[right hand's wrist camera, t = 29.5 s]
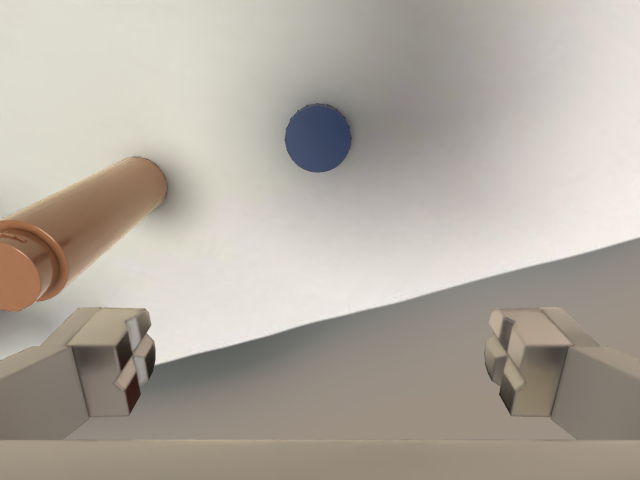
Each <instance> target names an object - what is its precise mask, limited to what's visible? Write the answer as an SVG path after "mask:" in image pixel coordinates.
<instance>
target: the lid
mask: <svg viewBox="0 0 640 480" xmlns="http://www.w3.org/2000/svg"><path fill="white" fill-rule="evenodd" d="M349 129H350V127H349V125H347V123H346V120H345V117H344V116H342V115H341V114H340V113H339V112H338V110H337V109H334V108H332V107H330V106H328V104H327V105H324V104H318V103H317V104H313V105H309V106H308V105H306V107H304V108H302V109H301V110H298V111H297V113H296V114H295V115H294V116H293V118H292V117H291V119H290V123H289V125H288V127H287V128H286V136H285V142H286V148H287V151H288V153H289V155H290V157H291V158H292V160H293V161H294V162H295V163H296V164H297V165H298V166H300V167H301V168H303V169H305V170H308V171H311V172H325V171H329V170H331V169H333V168H335V167H337V166H338V165H339V164H340V163H341V162H342V161H343V160H344V159H345V157H346V156H347V154H348V151H349V149H350V143H351V135H350V130H349Z"/></svg>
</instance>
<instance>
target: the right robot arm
mask: <svg viewBox="0 0 640 480" xmlns="http://www.w3.org/2000/svg"><path fill="white" fill-rule="evenodd" d="M150 326H151V321H150V316H149V312H148V311H147V310H146V309H145V308H101V307H93V308H78V309H77V310H76V311H75V312H74V313H73V314H72V315H71V316H70V317H69V318H68V319H67V320H66V321H65V322H64V323H63V324H62V325H61V326H60V327H59V328H58V329H57V330H56V331H55V332H54V333H53V334H52V335H50V336H49V337H48V338H47V339H46V340H45V341H44V342H43V343H42V344H41V345H40V346H32V347H30V348H28V349H25V350H23V351H21V352H18V353H16V354H14V355H12V356H9V357H7V358H5V359H2V360H0V480H640V360H638V359H635V358H633V357H631V356H628V355H626V354H624V353H622V352H619V351H617V350H615V349H612V348H610V347H608V346H600V345H599V344H598V343H597V342H596V341H595V340H594V339H593V338H592V337H591V336H590V335H589V334H588V333H587V332H586V331H585V330H583V328H581V326H580V325H578V324H577V323H576V322H575V321H574V320H573V319H572V318H571V317H570V316H569V315H568V314H567V313H566V312H565V311H564V310H563V309H561V308H558V307H550V308H514V309H493V311H492V313H491V315H490V320H489V326H490V328H491V329H492V331H493V332H494V333H493V334H492V335H491V336H490V337H489V338H488V339H487V340H486V345H485V352H484V355H485V365H486V369H487V372H488V374H489V376H490V378H491V380H492V381H493V382H494V383H496V384H498V385H499V386H501V388H500V393H499V395H500V397H501V399H502V400H503V402H504V404H505V406H506V408H507V409H508V411H509V413H510V415H511V416H523V417H551V420H553V421H554V422H555V423H556V424H558V425H559V426H560V427H562V428H563V429H564V430H565V431H567V432H568V433H569V434H571V435H572V436H573V437H575V438H576V439H577V440H63V439H64V438H66V437H67V436H68V435H70V434H71V433H72V432H73V431H75V430H76V429H77V428H78V427H80V426H81V425H82V424H84V423H85V422H86V421H88V420H89V417H116V416H129V415H130V413H131V411H132V409H133V408H134V406H135V404H136V402H137V400H138V399H139V397H140V395H141V393H140V388H139V386H141V385H142V384H144V383H146V382H147V381H148V380H149V378H150V376H151V374H152V372H153V368H154V364H155V344H154V340H153V339H152V338H151V337H150V336H149V335H148V334H147V331H148V329H149V328H150Z"/></svg>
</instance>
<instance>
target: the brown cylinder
mask: <svg viewBox="0 0 640 480" xmlns="http://www.w3.org/2000/svg"><path fill="white" fill-rule="evenodd" d="M166 193H167V183H166V179H165V176H164V175H163V173H162V171H161V170H160V169H159V168H158V167H157V166H156V165H155V164H154V163H152V162H151V161H149V160H147V159H144V158H140V157H130V158H127V159H124V160H122V161H120V162H118V163H116V164H114V165H112V166H110V167H108V168H106V169H104V170H102V171H99V172H97V173H95V174H93V175H91V176H89V177H87V178H85V179H83V180H81V181H79V182H77V183H75V184H73V185H71V186H69V187H67V188H65V189H63V190H60V191H58V192H56V193H54V194H52V195H50V196H48V197H46V198H44V199H42V200H40V201H38V202H36V203H34V204H32V205H30V206H28V207H26V208H24V209H22V210H19V211H17V212H15V213H13V214H11V215H9V216H7V217H5V218H3V219H1V220H0V310H7V311H9V312H13V311H20V310H21V309H24V308H27V307H28V306H30V305H32V304H33V303H34V302H37V301H44V300H47V299H50V298H52V297H54V296H56V295H57V294H59V293H60V292H61V291H62V290H63V289H64V288H65V287H67V286H68V285H69V284H70V283H71V282H72V281H73V280H75V279H76V278H77V277H78V276H79V275H80V274H81V273H83V272H84V271H85V270H86V269H87V268H88V267H89V266H91V265H92V264H93V263H94V262H95V261H96V260H97V259H98V258H100V257H101V256H102V255H103V254H104V253H105V252H106V251H108V250H109V249H110V248H111V247H112V246H113V245H114V244H116V243H117V242H118V241H119V240H120V239H121V238H122V237H124V236H125V235H126V234H127V233H128V232H129V231H130V230H131V229H133V228H134V227H135V226H136V225H137V224H138V223H139V222H141V221H142V220H143V219H144V218H145V217H146V216H147V215H149V214H150V213H151V212H152V211H153V210H154V209H155V208H157V207H158V206H159V205H160V204H161V203H162V202H163V200H164V198H165V196H166Z"/></svg>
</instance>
